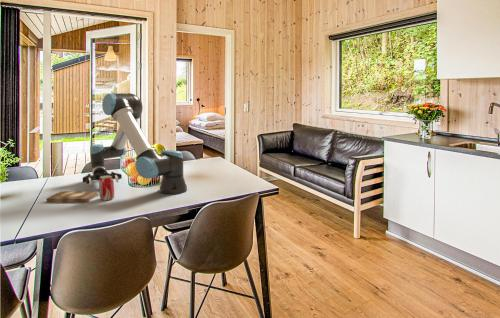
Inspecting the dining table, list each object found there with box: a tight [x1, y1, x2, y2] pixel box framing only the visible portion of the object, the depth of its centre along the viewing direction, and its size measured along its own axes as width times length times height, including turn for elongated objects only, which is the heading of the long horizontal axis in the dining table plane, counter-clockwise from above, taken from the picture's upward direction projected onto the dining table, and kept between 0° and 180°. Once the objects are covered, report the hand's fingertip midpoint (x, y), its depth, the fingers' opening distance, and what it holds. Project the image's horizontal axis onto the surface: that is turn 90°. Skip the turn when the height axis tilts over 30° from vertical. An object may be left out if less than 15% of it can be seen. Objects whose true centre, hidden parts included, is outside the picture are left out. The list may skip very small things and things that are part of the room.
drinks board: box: [46, 190, 99, 204], centre depth 181 cm, size 20×13×2 cm, turn 90°
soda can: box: [98, 175, 115, 201], centre depth 180 cm, size 7×7×12 cm
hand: (104, 181), depth 189 cm, fingers open, 13 cm apart
